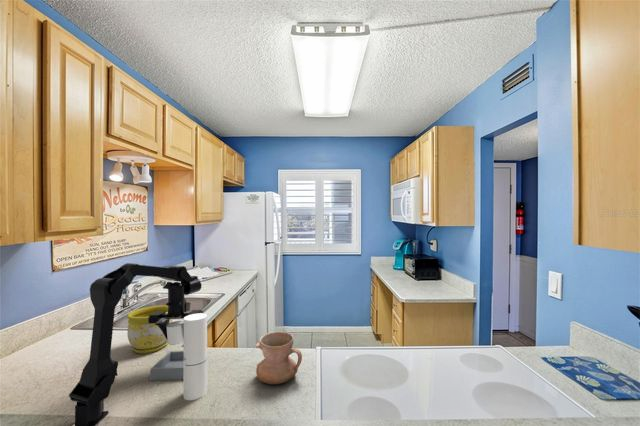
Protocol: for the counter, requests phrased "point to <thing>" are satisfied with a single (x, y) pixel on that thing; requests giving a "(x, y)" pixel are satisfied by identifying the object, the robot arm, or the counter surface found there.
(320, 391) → the counter surface
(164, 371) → the tray
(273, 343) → the ceramic jug
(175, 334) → the short white cylinder
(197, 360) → the cylindrical container
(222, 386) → the counter surface
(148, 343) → the flowerpot
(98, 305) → the robot arm
